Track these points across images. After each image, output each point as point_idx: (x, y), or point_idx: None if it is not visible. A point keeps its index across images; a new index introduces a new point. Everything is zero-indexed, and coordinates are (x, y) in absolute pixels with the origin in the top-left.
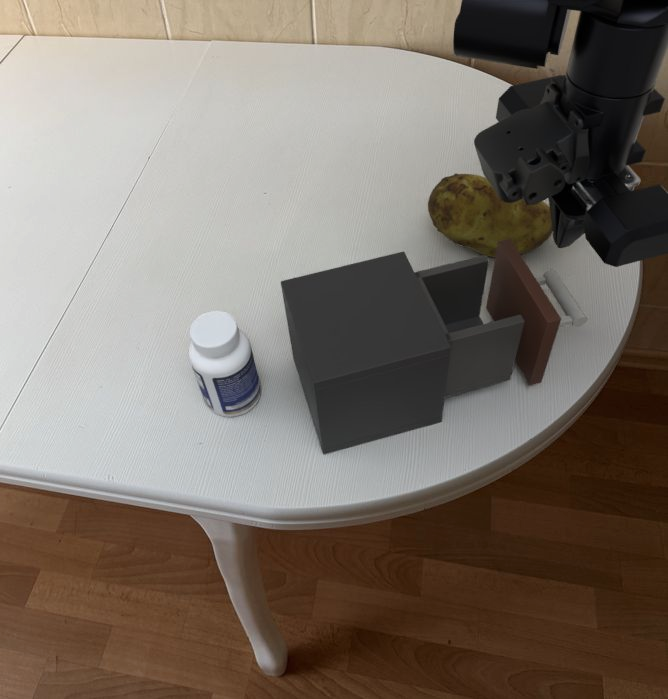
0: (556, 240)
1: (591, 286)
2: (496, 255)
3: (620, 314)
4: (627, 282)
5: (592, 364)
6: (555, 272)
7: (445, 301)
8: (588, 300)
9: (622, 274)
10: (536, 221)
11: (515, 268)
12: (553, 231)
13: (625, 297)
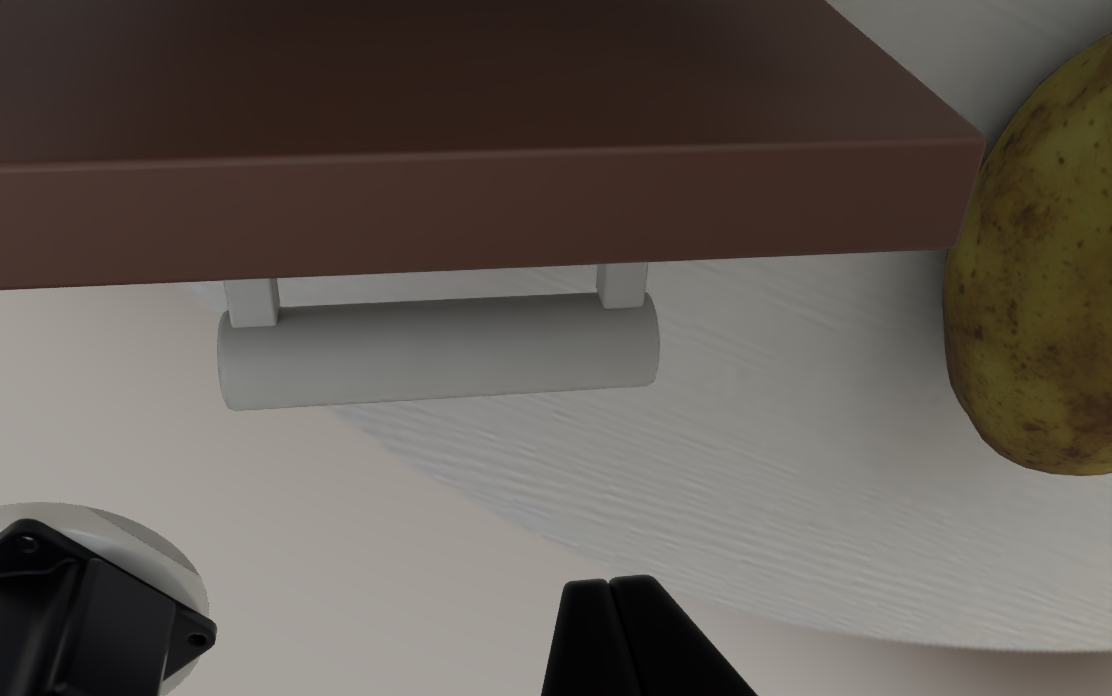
0: (624, 620)
1: (648, 428)
2: (899, 77)
3: (469, 468)
4: (610, 541)
5: None
6: (623, 379)
7: None
8: (583, 392)
9: (654, 540)
10: (1051, 398)
11: (613, 156)
12: (701, 661)
13: (544, 512)
